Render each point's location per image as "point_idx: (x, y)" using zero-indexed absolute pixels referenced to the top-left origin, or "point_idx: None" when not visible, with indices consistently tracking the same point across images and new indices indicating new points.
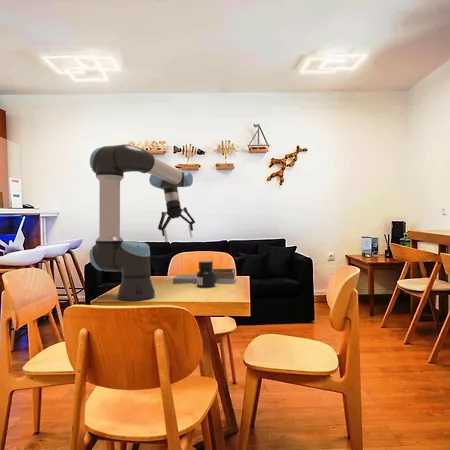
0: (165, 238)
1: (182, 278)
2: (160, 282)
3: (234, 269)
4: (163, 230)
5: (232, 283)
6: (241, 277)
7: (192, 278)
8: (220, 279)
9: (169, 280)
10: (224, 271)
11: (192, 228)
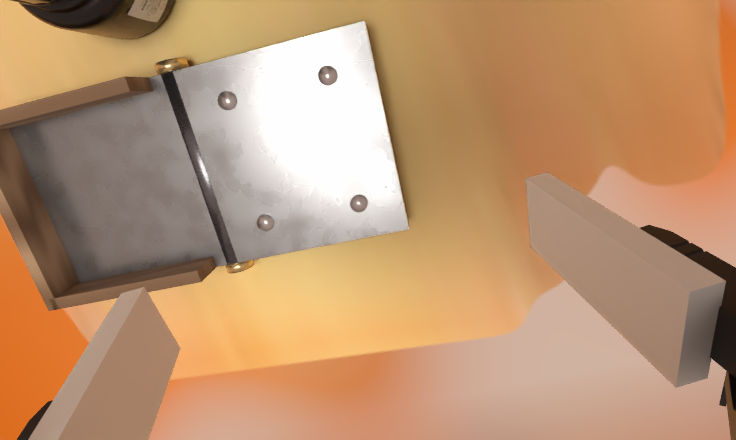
0: (564, 191)
1: (306, 54)
2: (475, 62)
3: (35, 280)
4: (716, 293)
5: None
6: (86, 335)
7: (240, 69)
8: None
9: (447, 156)
10: (114, 282)
11: (23, 431)
